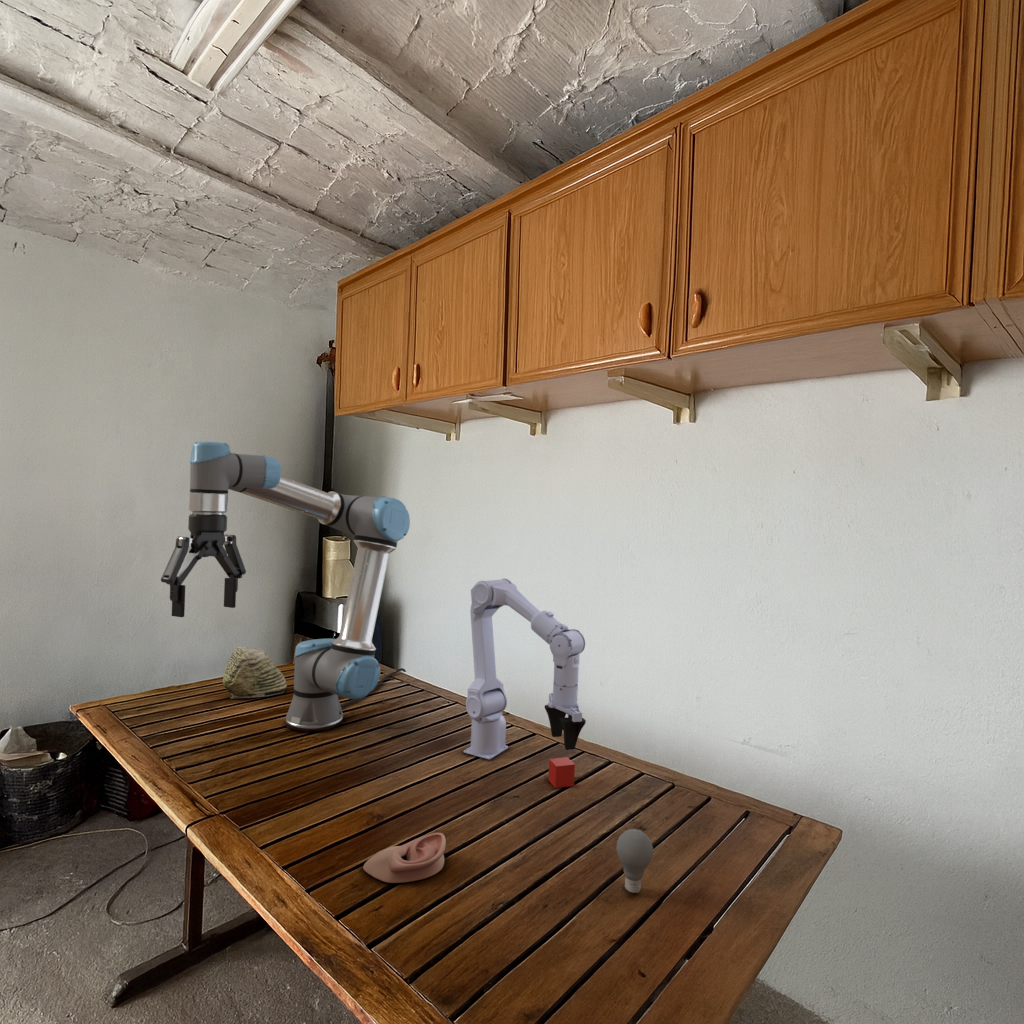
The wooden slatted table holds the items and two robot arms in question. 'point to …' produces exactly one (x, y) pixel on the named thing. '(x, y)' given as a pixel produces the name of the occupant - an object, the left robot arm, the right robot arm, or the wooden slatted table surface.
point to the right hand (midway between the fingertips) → (563, 742)
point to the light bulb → (634, 857)
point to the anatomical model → (409, 860)
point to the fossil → (252, 674)
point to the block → (561, 772)
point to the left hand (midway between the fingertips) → (204, 611)
